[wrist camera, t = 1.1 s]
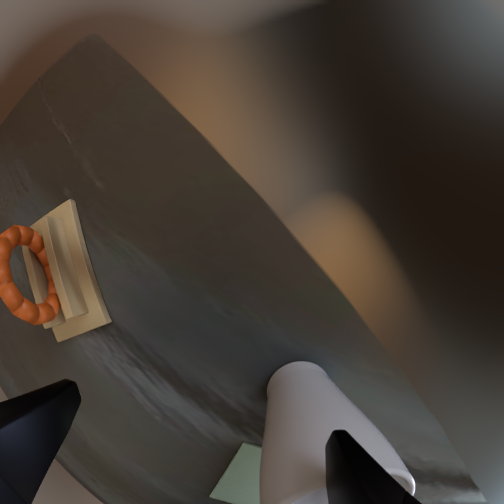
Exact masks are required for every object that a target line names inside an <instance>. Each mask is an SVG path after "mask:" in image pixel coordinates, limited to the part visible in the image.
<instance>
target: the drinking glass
mask: <svg viewBox="0 0 504 504" xmlns="http://www.w3.org/2000/svg"><path fill="white" fill-rule="evenodd" d="M340 429H344V430H346V431H347V432H348V433H349V434H350V435H351V436H352V437H353V438H354V439H355V440H356V441H357V442H358V443H359V444H360V445H361V446H362V447H363V448H364V449H365V450H366V451H367V452H368V453H369V454H370V455H371V456H372V457H373V458H374V459H375V460H376V461H377V462H378V463H379V464H380V465H381V466H382V467H383V468H384V469H385V470H386V471H387V472H388V473H389V474H390V475H391V476H392V477H393V478H394V479H395V480H396V481H397V482H398V483H399V484H400V485H401V486H402V487H403V488H404V489H405V490H406V491H408V492H409V493H410V494H411V495H412V496H414V492H415V481H414V479H413V477H412V475H411V474H410V473H409V471H408V469H407V468H406V466H405V464H404V463H403V461H402V460H401V458H400V457H399V455H398V454H397V452H396V451H395V449H394V448H393V447H392V445H391V444H390V443H389V441H388V440H387V439H386V438H385V436H384V435H383V434H382V433H381V432H380V431H379V429H378V428H377V427H376V426H375V425H374V424H373V423H372V422H371V421H370V420H369V419H368V418H367V417H366V416H365V415H364V414H363V413H362V412H361V411H360V410H359V409H358V408H357V407H356V406H355V405H354V403H353V402H352V401H351V400H350V399H349V398H348V397H347V396H346V395H345V394H344V393H343V392H342V391H341V390H340V389H339V388H338V387H337V386H336V385H335V384H334V383H333V381H332V380H331V379H330V378H329V376H328V375H327V373H326V372H325V371H324V370H323V369H322V368H321V367H320V366H318V365H316V364H314V363H311V362H306V361H297V362H292V363H289V364H286V365H284V366H282V367H281V368H279V369H278V370H277V371H276V372H275V373H274V374H273V375H272V377H271V378H270V380H269V383H268V386H267V408H266V418H265V427H264V436H263V444H262V452H261V460H260V472H259V502H260V504H329V503H328V496H327V489H326V464H325V446H326V443H327V441H328V439H329V437H330V435H331V433H332V431H333V430H340Z"/></svg>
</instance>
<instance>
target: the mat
mask: <svg viewBox="0 0 504 504" xmlns="http://www.w3.org/2000/svg"><path fill="white" fill-rule="evenodd" d="M261 452H262V447H261V446H258V445H254V444H251V443H248V442H244V441H243V442H242V444H241V446H240V447H239V449H238V451H237V452H236V454H235V456H234V457H233V459H232V461H231V462H230V464H229V466H228V467H227V469H226V470H225V472H224V474H223V475H222V477H221V478H220V480H219V481H218V483H217V485H216V486H215V488H214V489H213V491H212V492H211V494H210V495H209V497H211V498H214V499H217V500H221V501H225V502H228V503H232V504H260V502H259V472H260V460H261Z"/></svg>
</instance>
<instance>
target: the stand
mask: <svg viewBox="0 0 504 504" xmlns="http://www.w3.org/2000/svg"><path fill="white" fill-rule="evenodd" d="M30 228H33V229H34V230H35V231H36V232H37V233H38V234H40V235H41V236H42V237H43V241H44V246H45V250H46V255H47V259H48V263H49V267H50V270H51V274H52V278H53V281H54V285H55V288H56V291H57V294H58V298H59V301H60V304H61V309H60V310H59V312H58V314H57V316H56V317H55V319H54V320H53V321H50V322H46V323H43V326H44V329H48V328H51V327H52V329H53V332H54V334H55V337H56V339H57V342H61V341H63V340H66V339H69V338H71V337H74V336H77V335H79V334H82V333H85V332H87V331H90V330H93V329H95V328H98V327H100V326H103V325H106V324H108V323H111V322H112V321H111V319H110V316H109V313H108V311H107V308H106V306H105V303H104V300H103V298H102V295H101V292H100V289H99V286H98V283H97V280H96V277H95V274H94V271H93V268H92V265H91V262H90V258H89V255H88V251H87V248H86V244H85V241H84V237H83V233H82V229H81V225H80V221H79V217H78V212H77V208H76V203H75V201H74V200H71V199H69V200H67V201H66V202H64V203H63V204H61V205H60V206H58V207H57V208H55V209H54V210H52V211H51V212H49V213H48V214H47V215H45V216H44V217H42V218H41V219H40V220H38V221H37V222H36V223H34V224H33V225H32V226H30ZM22 250H23V255H24V260H25V264H26V269H27V273H28V277H29V281H30V284H31V288H32V292H33V295H34V299H35V302H36V304H39V303H43V302H44V301H45V299H46V298H47V296H48V279H47V276H46V272H45V268H44V266H43V264H42V263H41V261H40V260H39V258H38V256H37V255H36V253H34V252H33V251H32V250H31V249H29V248H28V247H27V246H22Z"/></svg>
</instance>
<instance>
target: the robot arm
mask: <svg viewBox="0 0 504 504" xmlns="http://www.w3.org/2000/svg"><path fill="white" fill-rule="evenodd" d="M80 403H81V396H80V393H79V389H78V386H77V384H76V382H74V381H72V380H70V379H63V380H61V381H58V382H56V383H53V384H50V385H48V386H45V387H42V388H40V389H37V390H34V391H32V392H29V393H26V394H23V395H20V396H18V397H15V398H12V399H9V400H6V401H3V402H0V504H32V502H33V500H34V497H35V495H36V493H37V491H38V489H39V487H40V485H41V483H42V481H43V479H44V477H45V475H46V473H47V471H48V469H49V467H50V465H51V463H52V461H53V459H54V458H55V456H56V454H57V452H58V450H59V448H60V446H61V445H62V443H63V441H64V439H65V437H66V435H67V434H68V431H69V429H70V427H71V424H72V422H73V420H74V417H75V415H76V413H77V410H78V408H79V406H80ZM325 464H326V489H327V496H328V503H329V504H421V503H420V502H419V501H418V500H417V499H416V498H414V497H413V496H412V495H411V494H410V493H409V492H408V491H406V490H405V489H404V488H403V487H402V486H401V485H400V484H399V483H398V482H397V481H396V480H395V479H394V478H393V477H392V476H391V475H390V474H389V473H388V472H387V471H386V470H385V469H384V468H383V467H382V466H381V465H380V464H379V463H378V462H377V461H376V460H375V459H374V458H373V457H372V456H371V455H370V454H369V453H368V452H367V451H366V450H365V449H364V448H363V447H362V446H361V445H360V444H359V443H358V442H357V441H356V440H355V439H354V438H353V437H352V436H351V435H350V434H349V433H348V432H347V431H346V430H344V429H340V430H333V431H332V433H331V435H330V437H329V439H328V441H327V443H326V446H325Z"/></svg>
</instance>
